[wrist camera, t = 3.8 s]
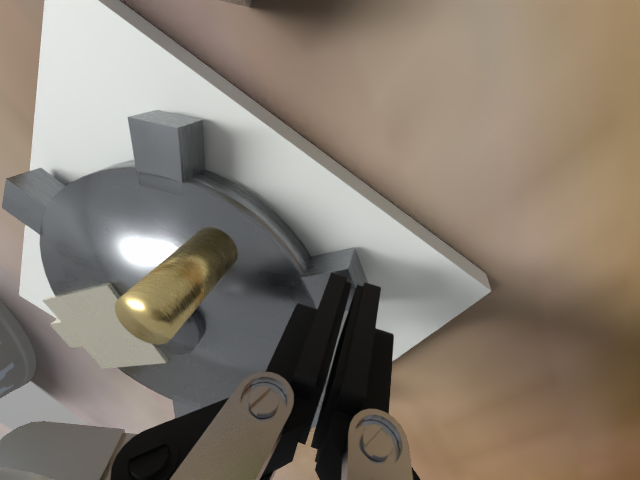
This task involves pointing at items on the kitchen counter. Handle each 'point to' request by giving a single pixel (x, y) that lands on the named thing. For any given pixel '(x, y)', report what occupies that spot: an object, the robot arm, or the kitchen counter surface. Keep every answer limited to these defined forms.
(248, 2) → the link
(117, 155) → the base plate
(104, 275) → the sprocket
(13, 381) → the dog bowl
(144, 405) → the kitchen counter surface
